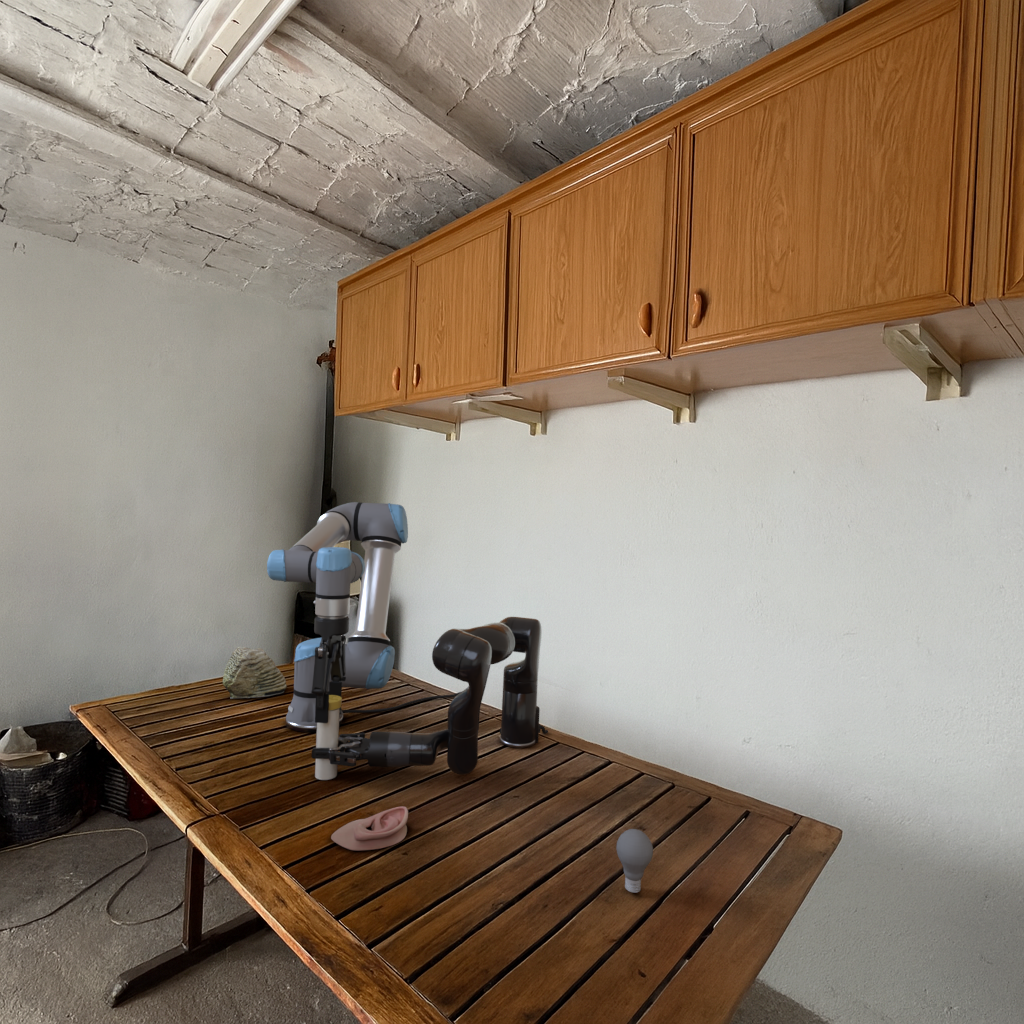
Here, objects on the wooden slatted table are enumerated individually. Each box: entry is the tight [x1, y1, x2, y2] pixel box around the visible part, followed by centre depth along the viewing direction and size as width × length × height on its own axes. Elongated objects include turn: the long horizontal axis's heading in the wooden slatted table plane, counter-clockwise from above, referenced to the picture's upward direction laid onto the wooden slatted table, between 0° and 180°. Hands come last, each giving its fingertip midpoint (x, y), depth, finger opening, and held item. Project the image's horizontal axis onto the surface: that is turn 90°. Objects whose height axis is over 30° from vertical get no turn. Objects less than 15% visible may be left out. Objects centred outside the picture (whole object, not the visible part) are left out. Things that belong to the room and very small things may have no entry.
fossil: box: [222, 646, 288, 699], centre depth 198 cm, size 9×18×15 cm, turn 132°
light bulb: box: [615, 828, 654, 894], centre depth 106 cm, size 6×6×10 cm
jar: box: [314, 708, 340, 781], centre depth 144 cm, size 5×5×17 cm
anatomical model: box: [330, 805, 409, 852], centre depth 119 cm, size 13×4×12 cm
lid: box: [329, 695, 343, 710], centre depth 144 cm, size 6×6×2 cm
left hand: (328, 715), depth 144 cm, fingers open, 8 cm apart
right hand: (315, 748), depth 144 cm, fingers closed on jar, 5 cm apart
